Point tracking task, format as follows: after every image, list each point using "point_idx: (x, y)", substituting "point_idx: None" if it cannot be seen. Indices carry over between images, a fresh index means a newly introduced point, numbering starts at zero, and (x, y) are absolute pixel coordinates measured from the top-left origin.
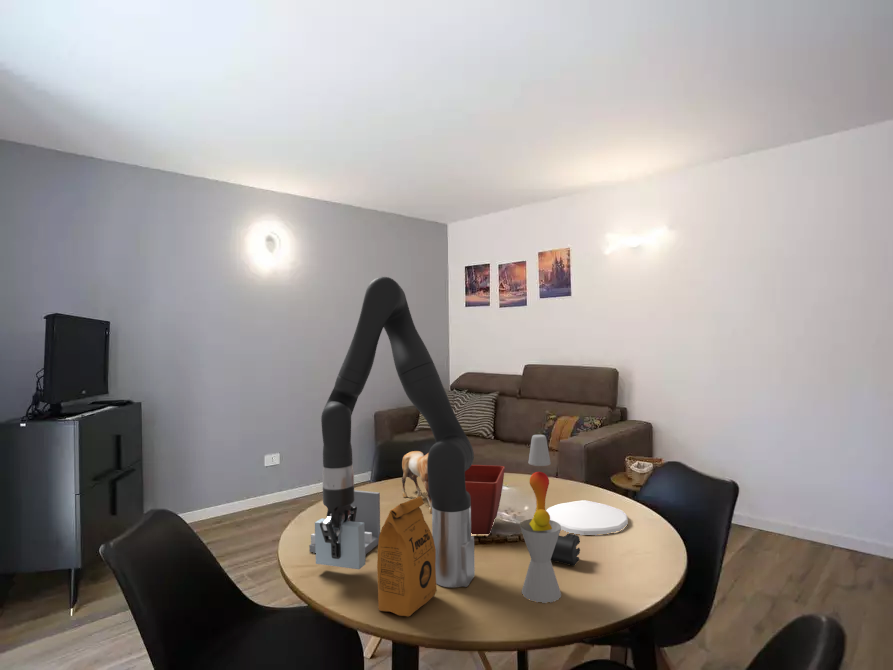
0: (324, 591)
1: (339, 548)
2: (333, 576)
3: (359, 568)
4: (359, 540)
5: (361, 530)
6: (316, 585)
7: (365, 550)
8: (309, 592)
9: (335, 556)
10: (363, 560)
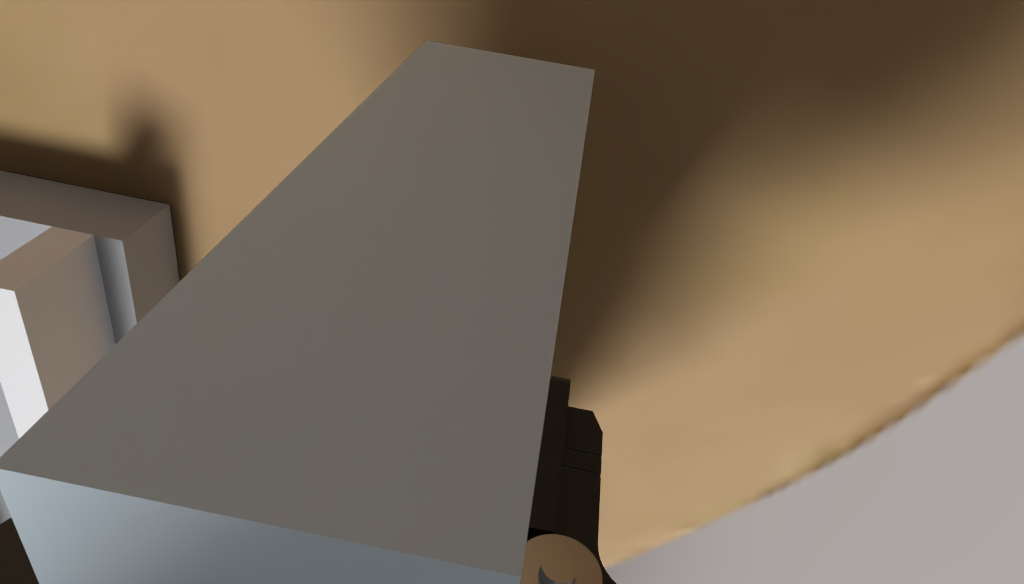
0: (843, 301)
1: (556, 468)
2: None
3: (589, 71)
4: (521, 254)
5: (330, 364)
6: (723, 392)
7: (2, 194)
8: (854, 405)
9: (593, 433)
10: (462, 68)
